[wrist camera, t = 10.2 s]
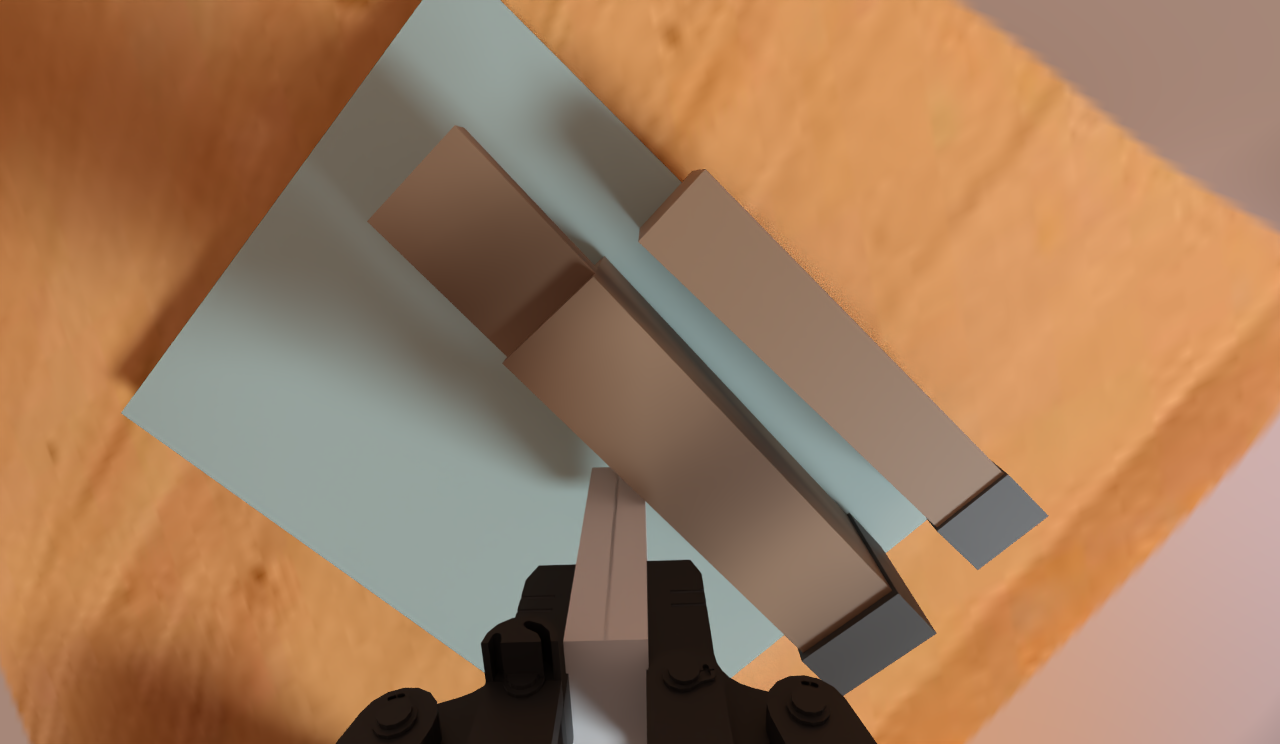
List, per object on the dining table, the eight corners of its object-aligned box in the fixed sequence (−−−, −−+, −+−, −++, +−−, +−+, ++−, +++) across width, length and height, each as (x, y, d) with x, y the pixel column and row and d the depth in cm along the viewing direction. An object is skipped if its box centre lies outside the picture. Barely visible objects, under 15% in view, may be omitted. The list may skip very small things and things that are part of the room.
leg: (415, 215, 16) (348, 226, 12) (493, 131, 15) (447, 118, 12) (804, 601, 20) (840, 697, 16) (881, 546, 19) (936, 633, 15)
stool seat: (619, 739, 23) (613, 879, 19) (152, 399, 19) (-6, 469, 15) (969, 452, 20) (1070, 538, 15) (480, -44, 16) (409, -138, 11)
